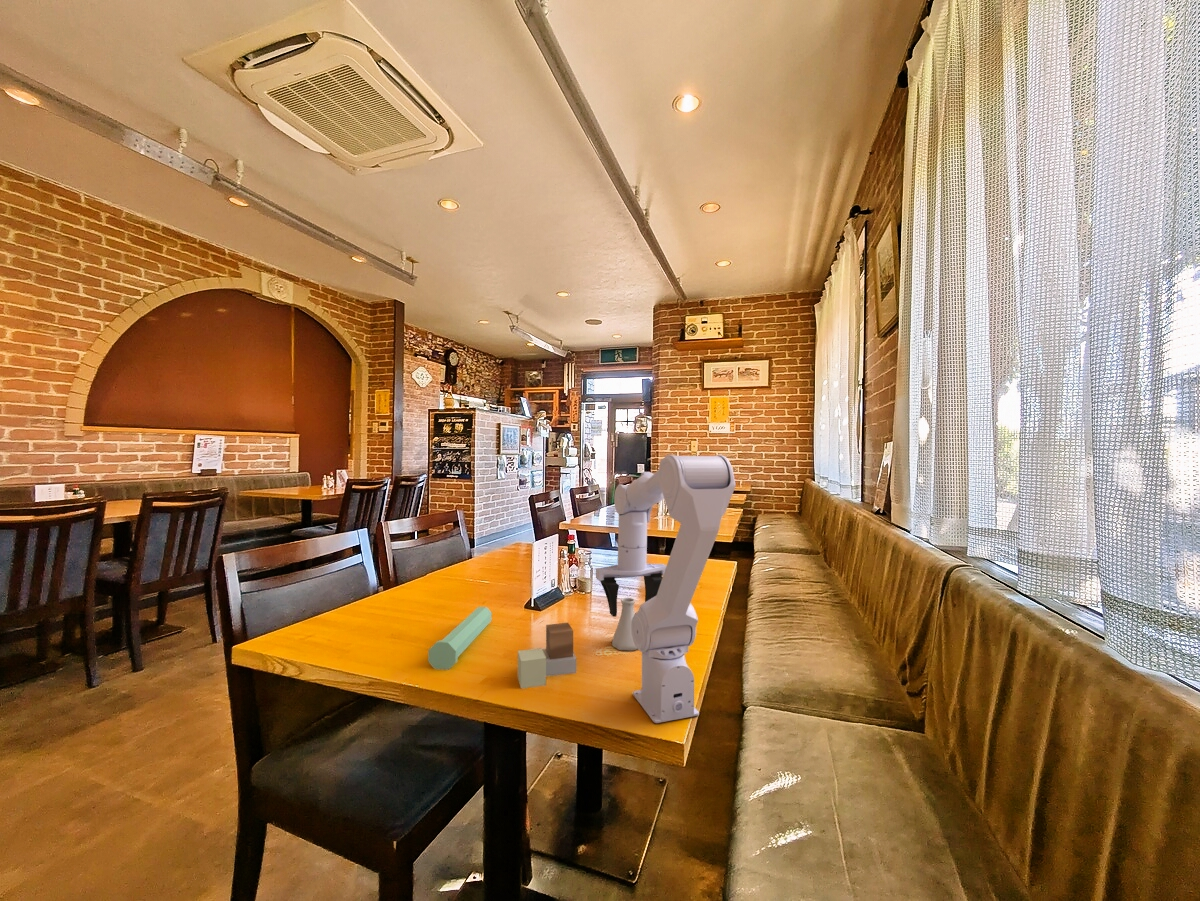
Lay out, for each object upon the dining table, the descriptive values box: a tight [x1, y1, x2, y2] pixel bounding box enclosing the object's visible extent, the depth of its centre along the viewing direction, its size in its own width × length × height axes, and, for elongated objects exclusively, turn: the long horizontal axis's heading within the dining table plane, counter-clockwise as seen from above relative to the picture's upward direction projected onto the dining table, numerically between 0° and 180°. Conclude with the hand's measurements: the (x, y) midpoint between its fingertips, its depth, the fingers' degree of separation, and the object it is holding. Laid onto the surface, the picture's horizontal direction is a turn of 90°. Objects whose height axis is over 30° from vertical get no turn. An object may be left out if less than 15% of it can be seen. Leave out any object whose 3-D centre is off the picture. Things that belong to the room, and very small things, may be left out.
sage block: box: [517, 647, 547, 689], centre depth 86 cm, size 4×4×5 cm
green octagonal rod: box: [427, 606, 492, 671], centre depth 103 cm, size 6×6×25 cm
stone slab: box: [542, 648, 578, 677], centre depth 91 cm, size 6×6×3 cm
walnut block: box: [545, 622, 574, 659], centre depth 92 cm, size 4×4×5 cm
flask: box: [611, 597, 638, 651], centre depth 103 cm, size 7×7×10 cm
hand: (631, 612), depth 93 cm, fingers open, 7 cm apart
